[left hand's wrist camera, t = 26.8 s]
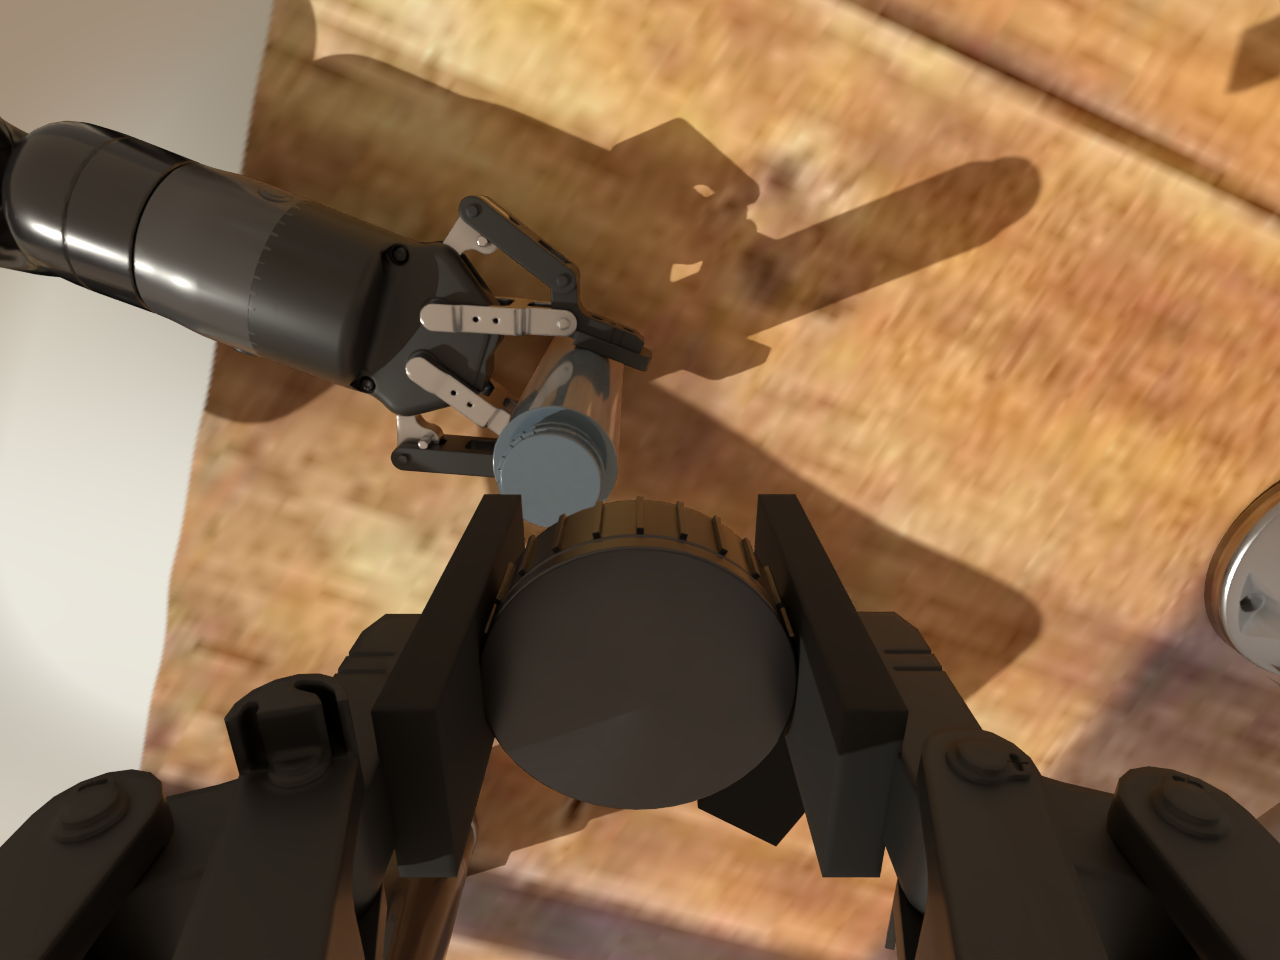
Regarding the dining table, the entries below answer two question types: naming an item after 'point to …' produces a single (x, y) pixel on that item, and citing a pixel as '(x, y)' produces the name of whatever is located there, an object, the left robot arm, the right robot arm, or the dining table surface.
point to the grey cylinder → (562, 434)
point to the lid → (638, 657)
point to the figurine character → (761, 798)
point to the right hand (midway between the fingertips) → (628, 407)
